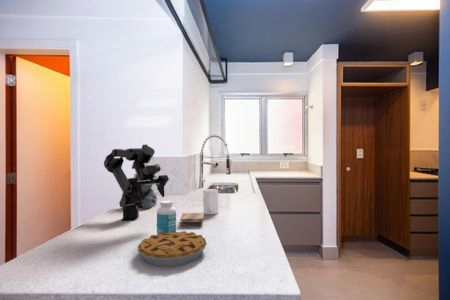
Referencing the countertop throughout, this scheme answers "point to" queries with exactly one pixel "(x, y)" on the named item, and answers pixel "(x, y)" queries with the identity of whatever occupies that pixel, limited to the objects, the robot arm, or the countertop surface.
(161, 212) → the pill bottle
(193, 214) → the square wooden stand
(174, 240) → the pie
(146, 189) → the koala plush
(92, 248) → the countertop surface
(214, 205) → the mug
